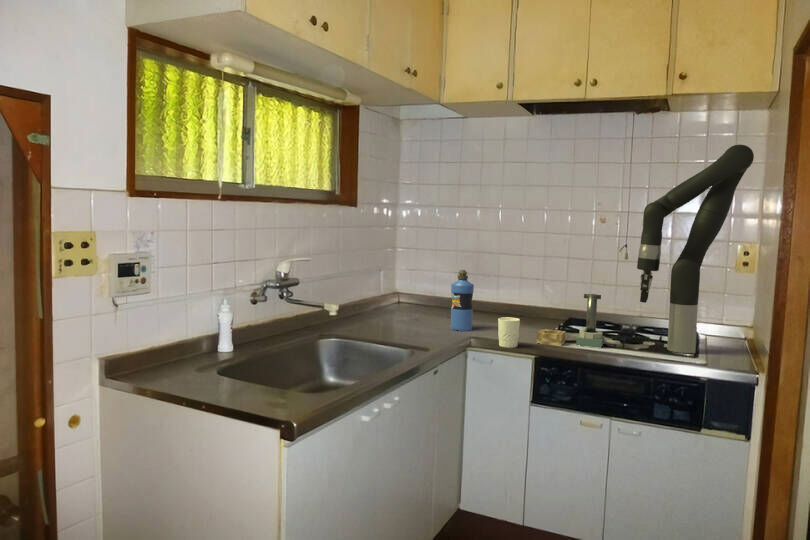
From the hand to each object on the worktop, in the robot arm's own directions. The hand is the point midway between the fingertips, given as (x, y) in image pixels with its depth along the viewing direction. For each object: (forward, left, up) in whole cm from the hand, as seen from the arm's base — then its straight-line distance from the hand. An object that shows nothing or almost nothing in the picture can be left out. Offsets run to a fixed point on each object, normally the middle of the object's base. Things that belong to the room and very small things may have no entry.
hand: (643, 301), depth 223 cm
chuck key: (+18, +5, -14) cm, 23 cm away
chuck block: (+15, +5, -17) cm, 23 cm away
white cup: (+45, +22, -18) cm, 53 cm away
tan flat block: (+32, +8, -17) cm, 37 cm away
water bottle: (+71, -1, -18) cm, 73 cm away
